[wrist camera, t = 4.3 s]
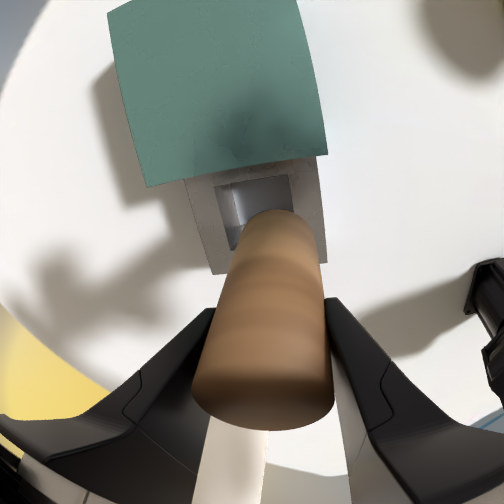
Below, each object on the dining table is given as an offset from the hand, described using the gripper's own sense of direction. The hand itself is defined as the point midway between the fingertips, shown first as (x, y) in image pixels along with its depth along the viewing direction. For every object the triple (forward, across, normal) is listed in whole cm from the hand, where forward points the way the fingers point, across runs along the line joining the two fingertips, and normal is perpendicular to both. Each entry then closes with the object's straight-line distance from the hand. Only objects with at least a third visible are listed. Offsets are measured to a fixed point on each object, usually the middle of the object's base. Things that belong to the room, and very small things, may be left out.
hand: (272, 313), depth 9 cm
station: (+13, +2, -6) cm, 14 cm away
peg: (+4, 0, 0) cm, 5 cm away
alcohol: (+13, +10, +32) cm, 36 cm away
